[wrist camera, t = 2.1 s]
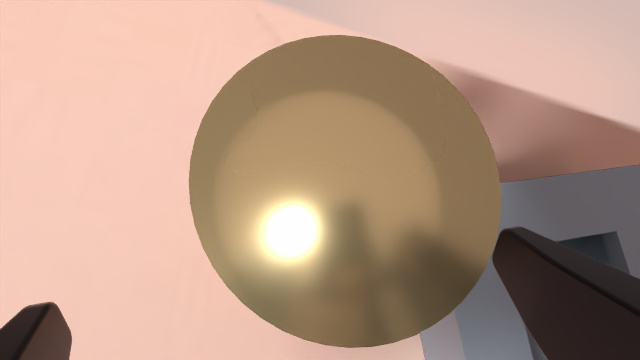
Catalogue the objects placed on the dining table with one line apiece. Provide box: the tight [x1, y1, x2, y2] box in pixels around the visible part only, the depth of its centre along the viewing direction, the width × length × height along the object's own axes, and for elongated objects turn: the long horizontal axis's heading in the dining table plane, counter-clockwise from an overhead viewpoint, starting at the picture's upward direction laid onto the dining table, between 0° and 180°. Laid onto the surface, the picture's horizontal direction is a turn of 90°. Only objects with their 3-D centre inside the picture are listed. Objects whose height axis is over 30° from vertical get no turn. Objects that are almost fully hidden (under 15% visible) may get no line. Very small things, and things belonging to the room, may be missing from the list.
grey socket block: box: [420, 165, 640, 360], centre depth 16 cm, size 12×10×4 cm
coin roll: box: [189, 35, 501, 348], centre depth 10 cm, size 3×3×13 cm
